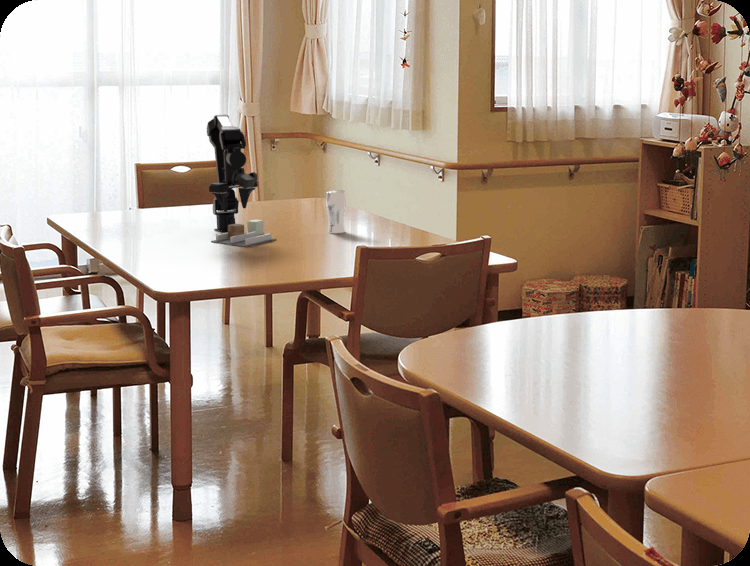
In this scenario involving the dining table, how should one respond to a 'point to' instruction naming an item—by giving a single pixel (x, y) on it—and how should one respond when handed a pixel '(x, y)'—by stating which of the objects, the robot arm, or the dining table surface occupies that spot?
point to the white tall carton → (335, 210)
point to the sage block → (255, 226)
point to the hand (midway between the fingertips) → (235, 210)
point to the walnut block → (235, 230)
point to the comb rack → (243, 239)
